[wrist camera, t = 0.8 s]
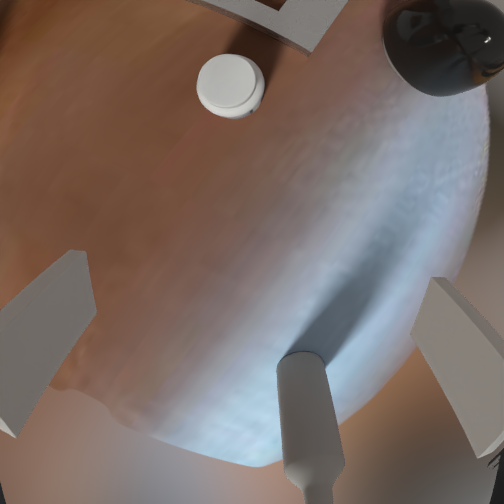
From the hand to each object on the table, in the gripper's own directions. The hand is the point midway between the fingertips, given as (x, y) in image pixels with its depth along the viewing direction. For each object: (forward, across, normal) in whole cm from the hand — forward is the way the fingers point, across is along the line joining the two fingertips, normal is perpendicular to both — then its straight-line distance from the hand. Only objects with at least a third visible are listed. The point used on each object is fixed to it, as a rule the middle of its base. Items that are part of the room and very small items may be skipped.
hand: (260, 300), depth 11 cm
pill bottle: (+21, -3, +9) cm, 23 cm away
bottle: (+21, +8, -24) cm, 33 cm away
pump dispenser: (+21, +15, +17) cm, 31 cm away
